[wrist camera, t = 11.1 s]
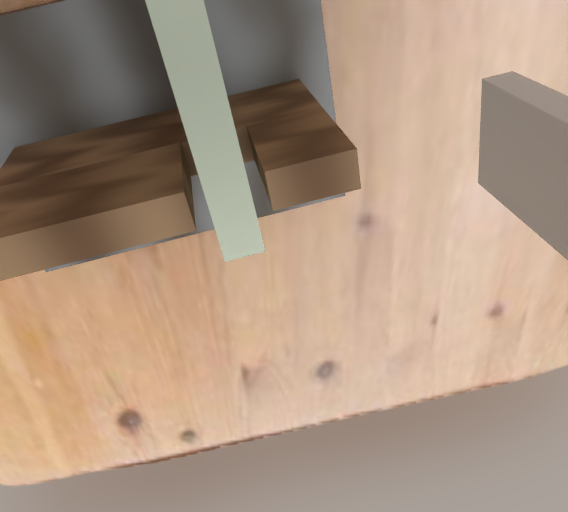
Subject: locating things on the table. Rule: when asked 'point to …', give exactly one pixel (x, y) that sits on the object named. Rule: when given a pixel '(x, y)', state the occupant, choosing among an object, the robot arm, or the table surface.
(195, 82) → the sage plate
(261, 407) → the table surface
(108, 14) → the wood panel stand
